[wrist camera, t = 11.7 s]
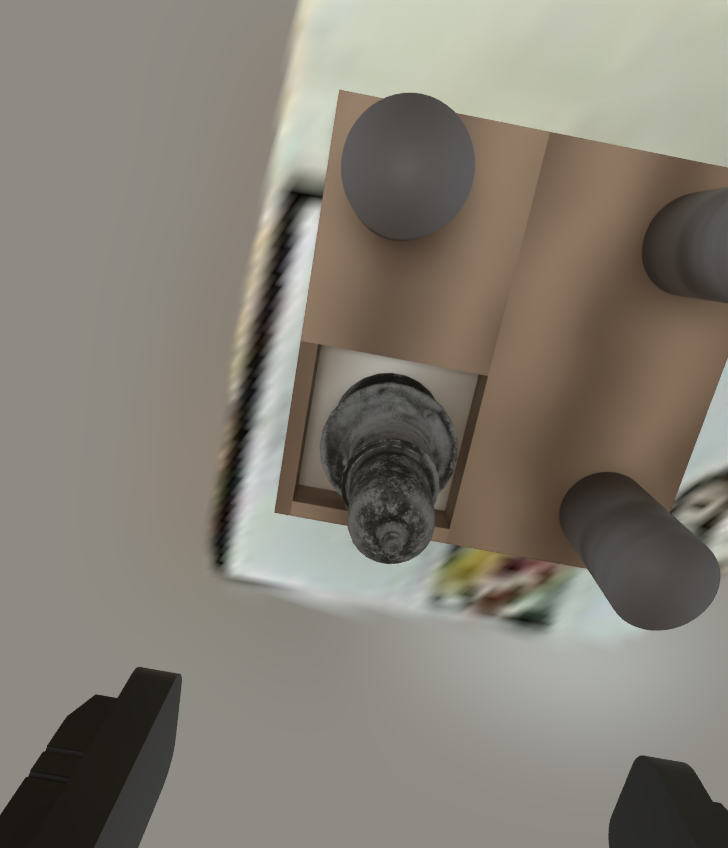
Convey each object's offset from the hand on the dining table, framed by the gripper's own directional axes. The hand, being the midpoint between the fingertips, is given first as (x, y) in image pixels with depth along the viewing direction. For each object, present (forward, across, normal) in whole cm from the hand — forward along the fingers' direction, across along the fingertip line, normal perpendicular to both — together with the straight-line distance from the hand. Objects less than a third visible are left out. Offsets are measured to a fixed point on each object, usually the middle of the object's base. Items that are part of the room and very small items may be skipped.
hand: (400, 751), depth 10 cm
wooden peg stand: (+20, -4, -4) cm, 21 cm away
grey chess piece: (+19, 0, 0) cm, 19 cm away
